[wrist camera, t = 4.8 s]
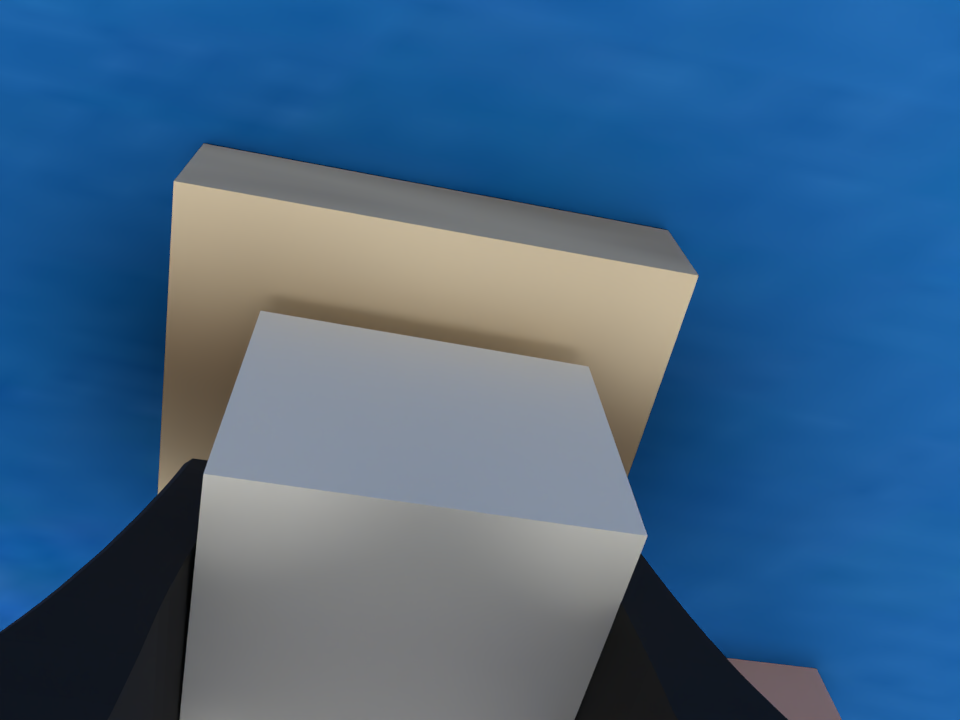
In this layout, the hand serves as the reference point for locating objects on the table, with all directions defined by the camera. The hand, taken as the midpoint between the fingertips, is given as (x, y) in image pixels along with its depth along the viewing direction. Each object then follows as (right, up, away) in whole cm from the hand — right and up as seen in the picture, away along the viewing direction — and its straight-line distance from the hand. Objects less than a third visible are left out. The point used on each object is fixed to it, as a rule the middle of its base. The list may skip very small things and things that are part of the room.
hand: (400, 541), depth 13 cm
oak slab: (0, +2, +4) cm, 4 cm away
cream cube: (0, +1, +1) cm, 2 cm away
